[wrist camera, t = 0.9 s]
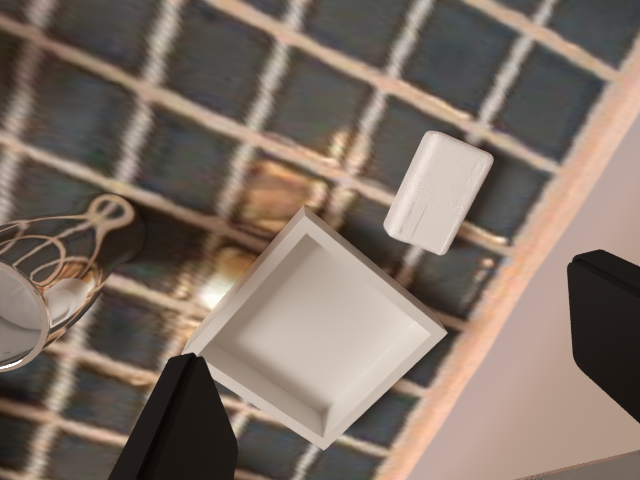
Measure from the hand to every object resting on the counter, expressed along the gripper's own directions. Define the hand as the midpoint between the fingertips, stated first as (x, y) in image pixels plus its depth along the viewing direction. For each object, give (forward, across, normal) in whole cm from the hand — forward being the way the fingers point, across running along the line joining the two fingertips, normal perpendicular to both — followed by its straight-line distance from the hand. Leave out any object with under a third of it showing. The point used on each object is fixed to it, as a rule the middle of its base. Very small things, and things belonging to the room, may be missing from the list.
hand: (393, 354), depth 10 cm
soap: (+26, -9, +3) cm, 27 cm away
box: (+25, +4, +12) cm, 28 cm away
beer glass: (+25, +18, -1) cm, 31 cm away
